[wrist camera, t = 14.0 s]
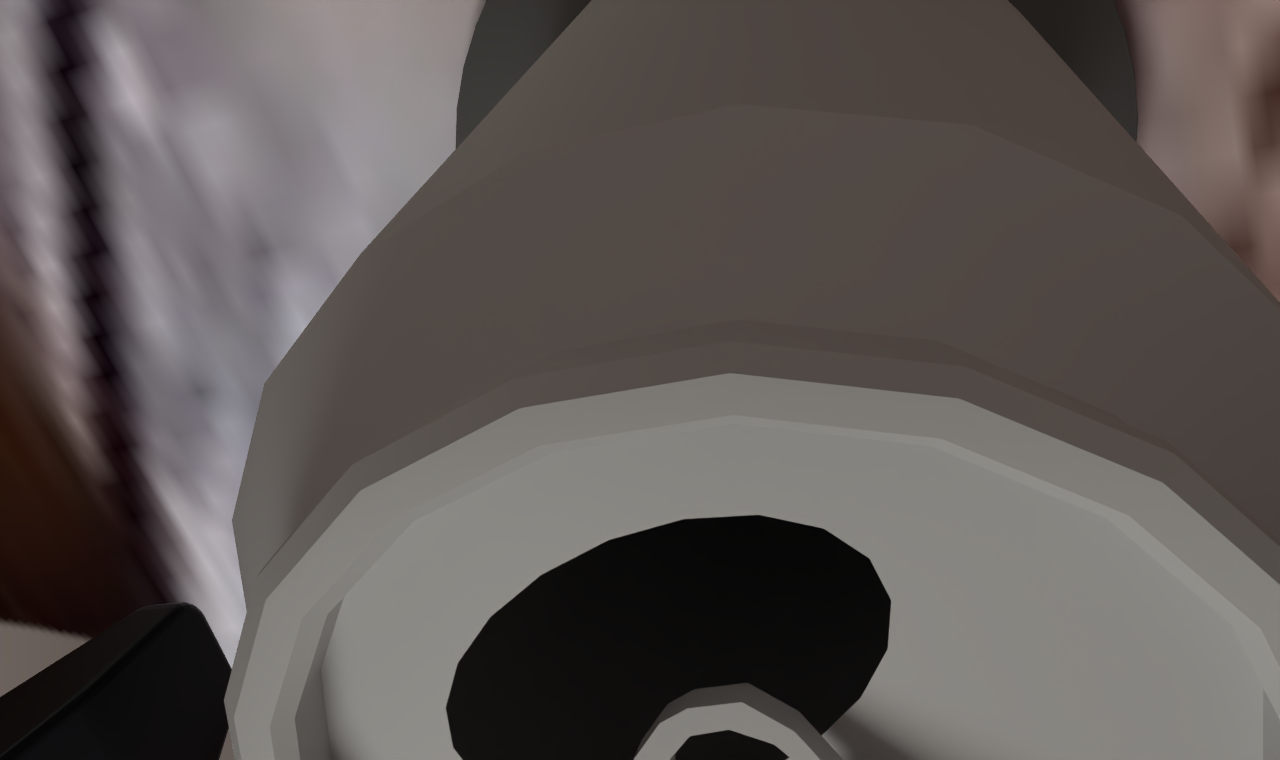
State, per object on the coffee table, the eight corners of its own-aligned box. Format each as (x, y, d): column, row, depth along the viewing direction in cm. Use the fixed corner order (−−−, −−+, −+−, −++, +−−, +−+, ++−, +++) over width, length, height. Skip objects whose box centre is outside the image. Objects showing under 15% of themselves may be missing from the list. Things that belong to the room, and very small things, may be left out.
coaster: (1122, -288, 13) (1135, -290, 13) (1129, 404, 18) (1138, 422, 17) (381, -108, 16) (366, -104, 15) (554, 468, 20) (548, 487, 20)
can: (840, -239, 14) (962, -265, 3) (1154, 205, 16) (1830, 1044, 5) (441, 137, 17) (-154, 744, 6) (750, 464, 19) (687, 1317, 8)
